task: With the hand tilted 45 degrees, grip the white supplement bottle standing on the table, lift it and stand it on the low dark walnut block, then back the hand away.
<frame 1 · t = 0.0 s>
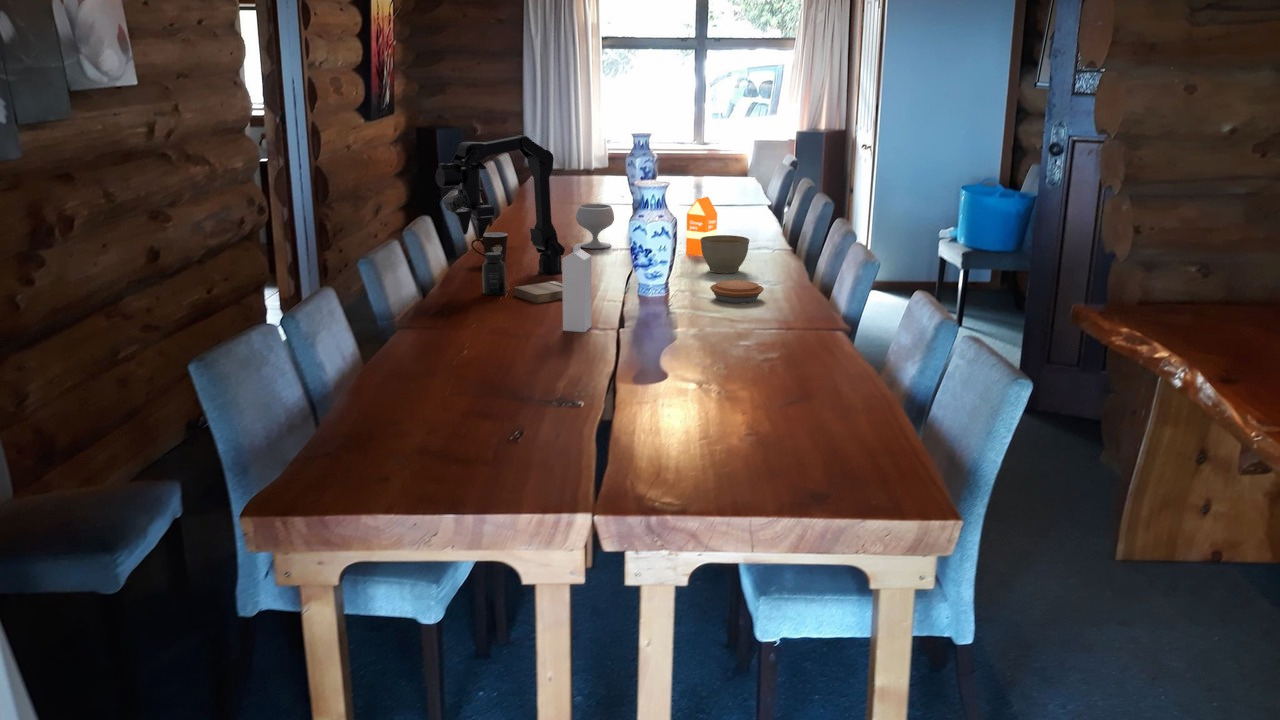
hand: (472, 236, 311), 15 cm above the table, tool pointing down, fingers open, 9 cm apart
planter bowl: (723, 271, 338), on the table
chalice: (595, 247, 379), on the table
pie: (736, 300, 300), on the table
coffee mug: (491, 264, 346), on the table
supplement bottle: (494, 293, 303), on the table
walnut block: (545, 296, 300), on the table
milk: (577, 329, 265), on the table
orange juice: (700, 254, 368), on the table
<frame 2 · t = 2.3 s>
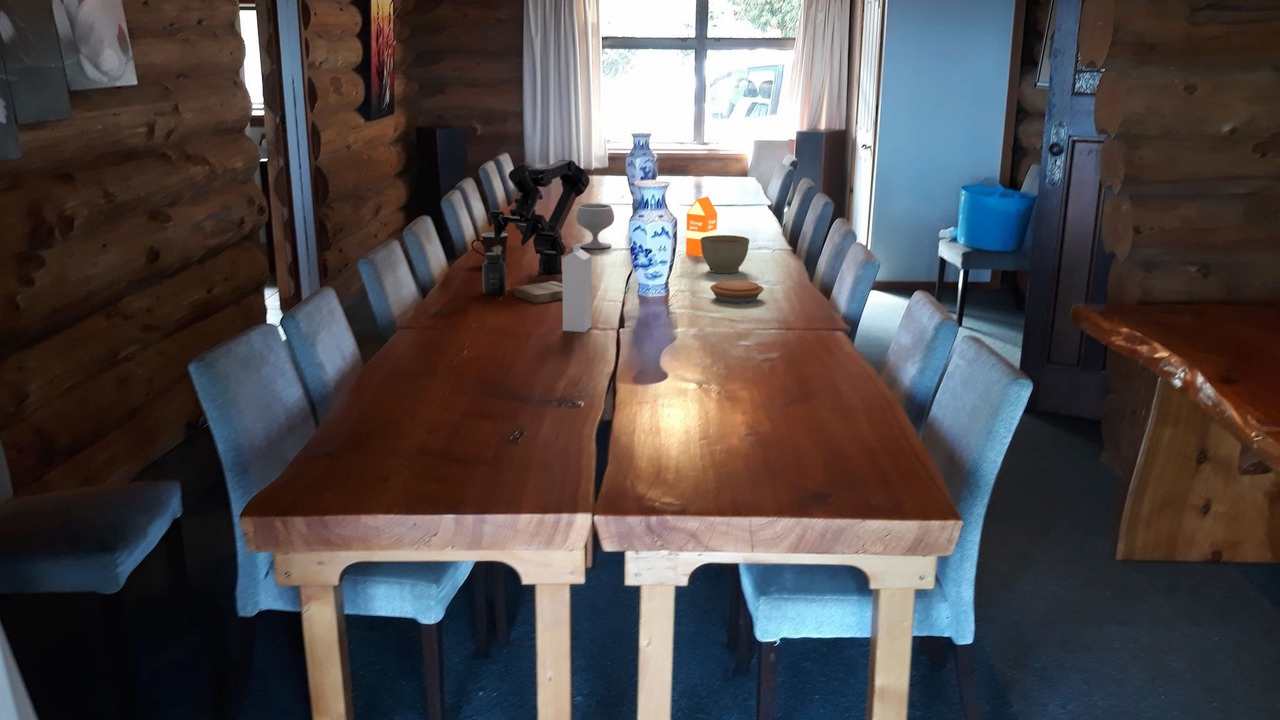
hand: (508, 243, 307), 13 cm above the table, tool tilted 45°, fingers open, 9 cm apart
nothing on the table moved.
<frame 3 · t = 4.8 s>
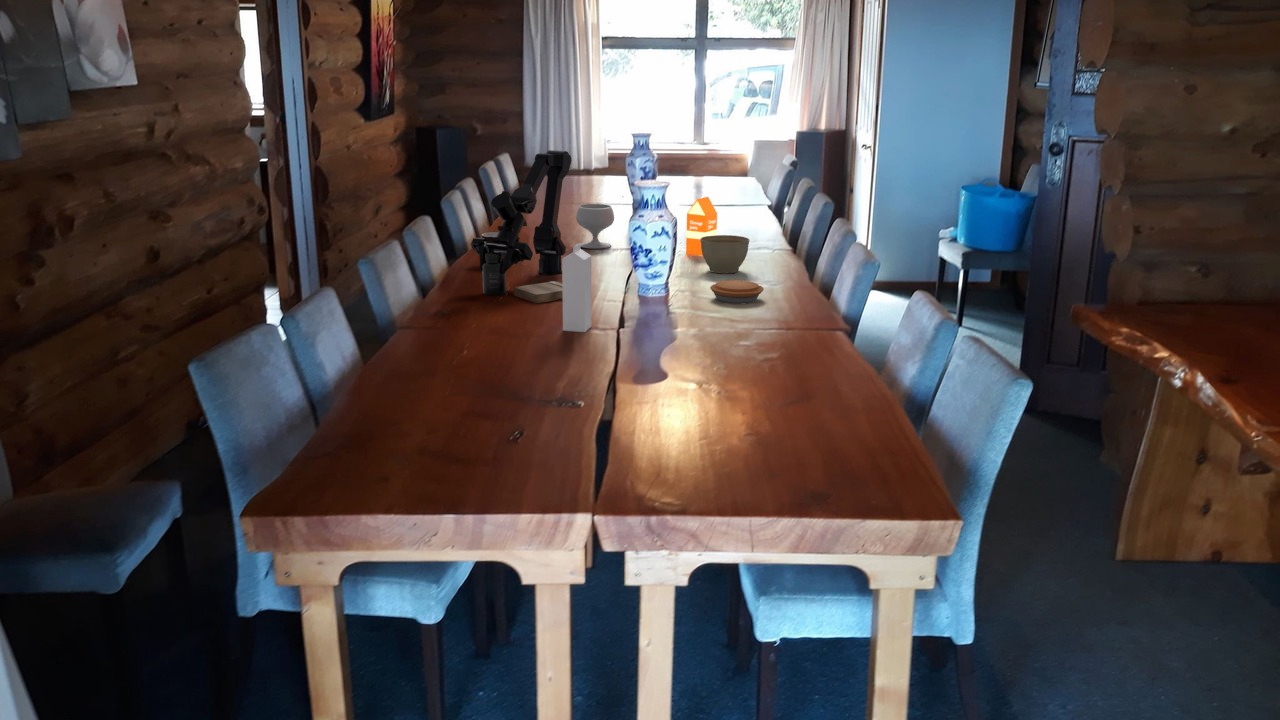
hand: (491, 272, 300), 7 cm above the table, tool tilted 45°, fingers closed on supplement bottle, 7 cm apart
supplement bottle: (494, 293, 303), on the table, touching gripper
everything else where it was.
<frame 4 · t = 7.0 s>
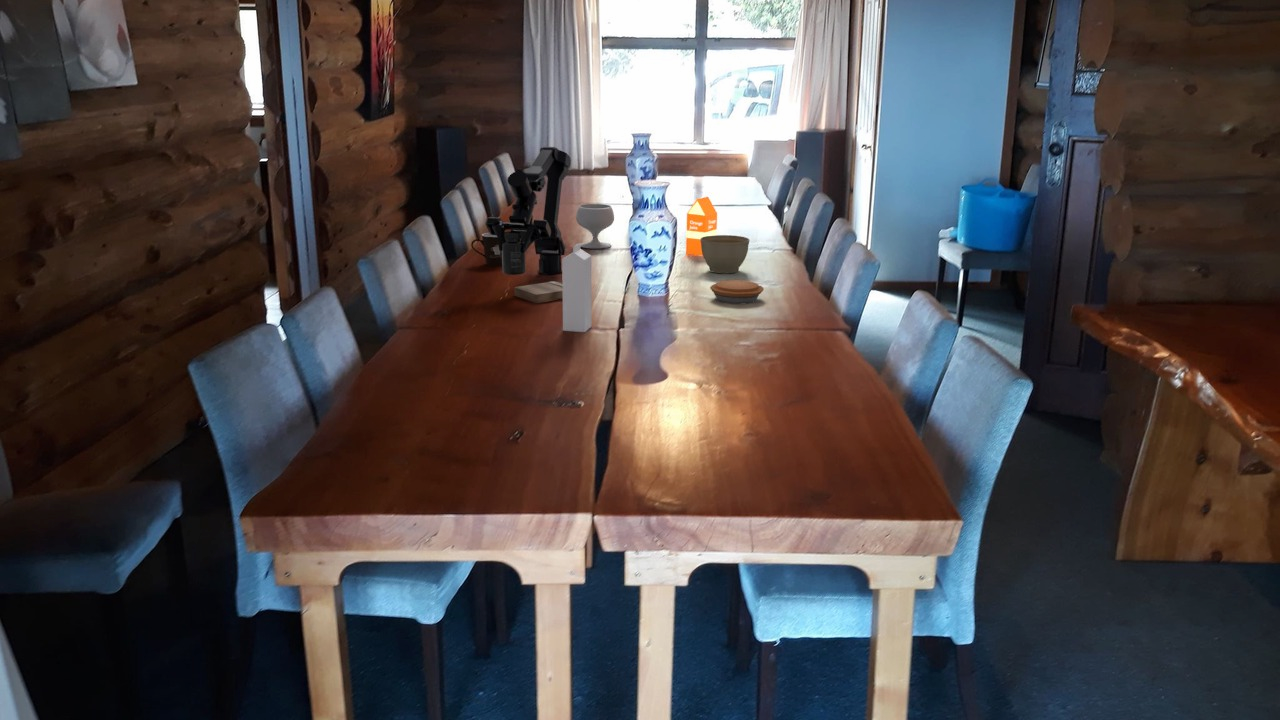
hand: (511, 251, 296), 13 cm above the table, tool tilted 45°, fingers closed on supplement bottle, 7 cm apart
supplement bottle: (514, 273, 300), point 6 cm above the table, touching gripper
everything else where it was.
when the fingers open (10 cm above the table, at t = 8.8 s): supplement bottle stays where it is, resting on walnut block.
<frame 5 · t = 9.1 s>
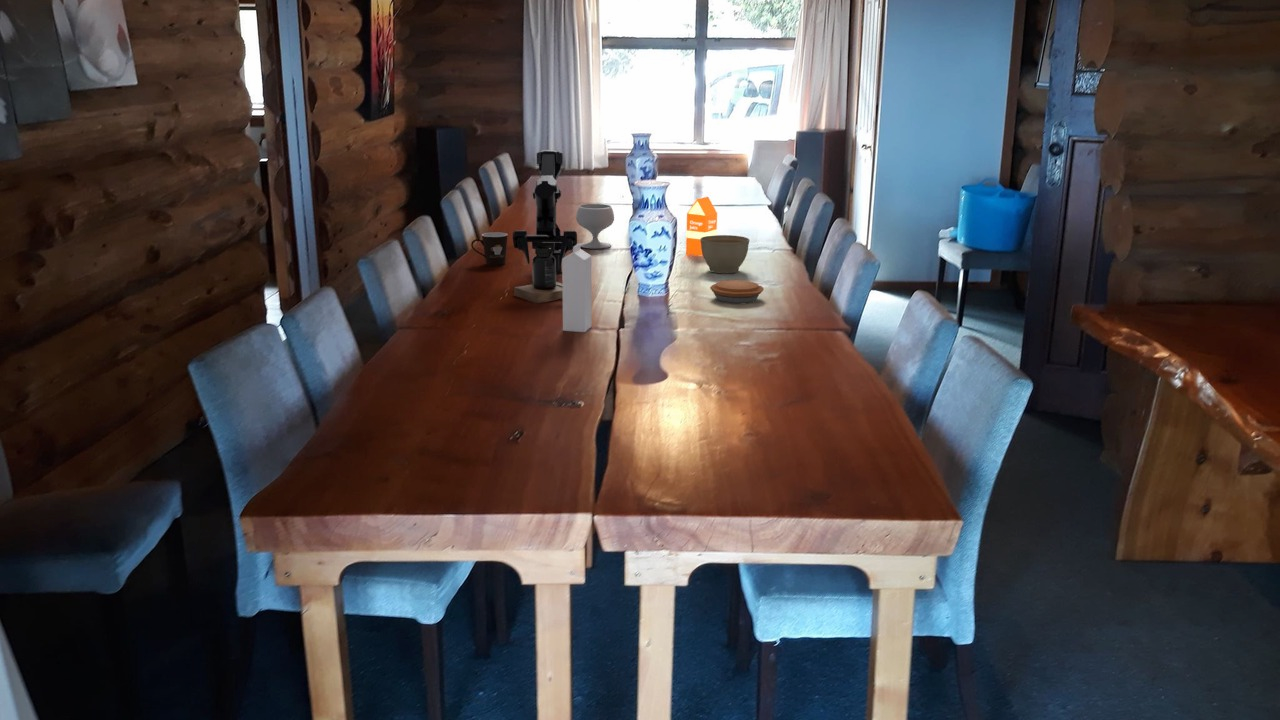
hand: (544, 263, 296), 10 cm above the table, tool tilted 45°, fingers open, 9 cm apart
supplement bottle: (544, 288, 300), point 2 cm above the table, touching walnut block
everything else where it was.
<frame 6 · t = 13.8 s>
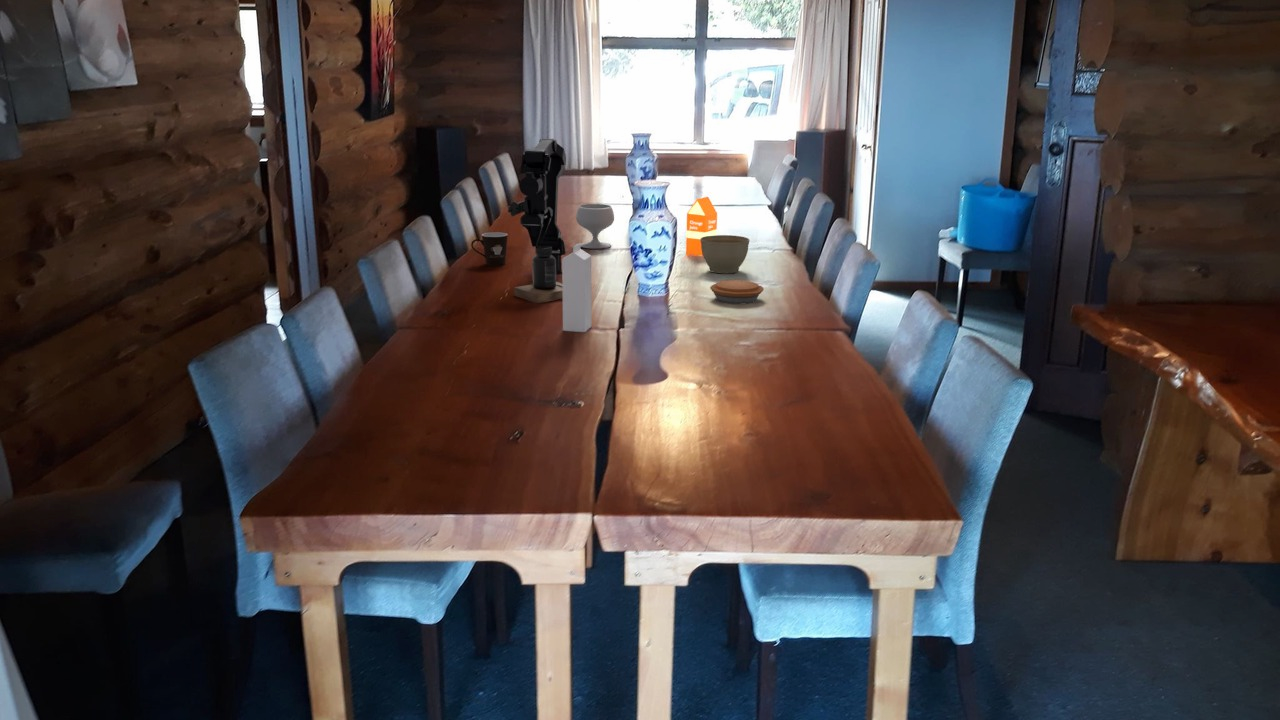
hand: (537, 243, 310), 13 cm above the table, tool pointing down, fingers open, 9 cm apart
nothing on the table moved.
at the end: supplement bottle inside the target area on the walnut block (0.3 cm from its centre), point 2.3 cm above the walnut block's base; supplement bottle tilted 0°; the gripper is holding nothing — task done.
